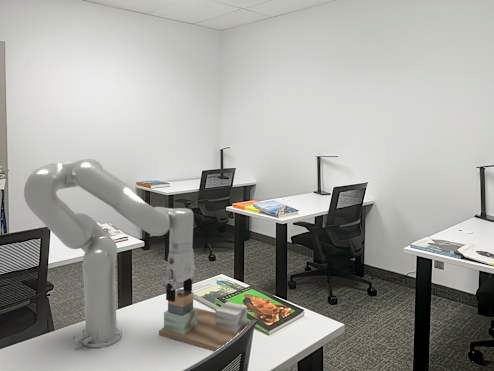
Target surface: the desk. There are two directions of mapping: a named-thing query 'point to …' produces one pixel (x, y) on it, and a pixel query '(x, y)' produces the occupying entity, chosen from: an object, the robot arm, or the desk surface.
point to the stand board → (206, 325)
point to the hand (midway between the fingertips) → (179, 295)
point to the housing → (181, 302)
